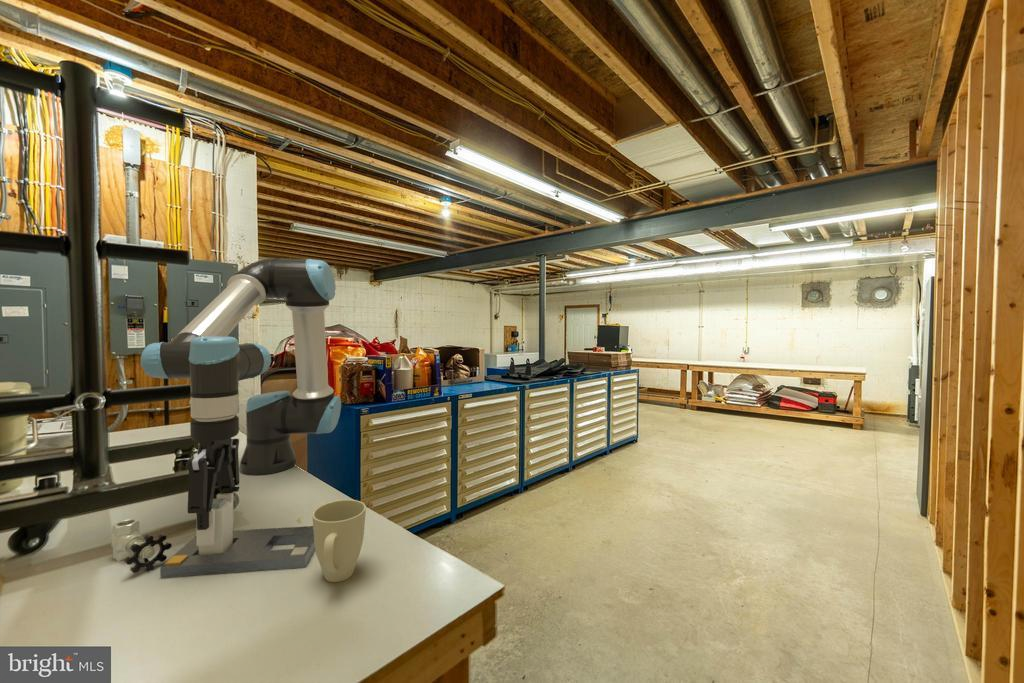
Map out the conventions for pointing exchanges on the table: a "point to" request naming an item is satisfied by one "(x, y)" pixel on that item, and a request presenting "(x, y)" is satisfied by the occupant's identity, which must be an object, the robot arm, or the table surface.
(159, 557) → the valve
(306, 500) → the table surface
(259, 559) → the grey slotted tray
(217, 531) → the plug
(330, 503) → the mug
